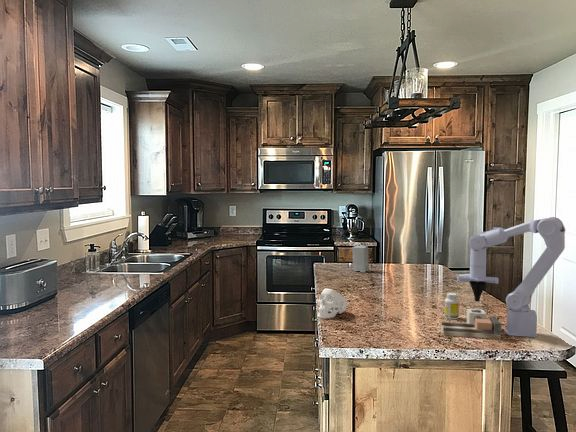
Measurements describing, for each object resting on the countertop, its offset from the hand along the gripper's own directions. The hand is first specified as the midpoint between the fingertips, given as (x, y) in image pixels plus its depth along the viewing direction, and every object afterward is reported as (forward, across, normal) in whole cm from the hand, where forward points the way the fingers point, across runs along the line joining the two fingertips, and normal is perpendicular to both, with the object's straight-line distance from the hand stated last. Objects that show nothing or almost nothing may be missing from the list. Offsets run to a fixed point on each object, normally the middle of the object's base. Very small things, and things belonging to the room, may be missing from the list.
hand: (477, 301), depth 180 cm
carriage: (+8, 0, -11) cm, 14 cm away
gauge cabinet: (+9, 0, 0) cm, 9 cm away
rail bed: (+9, -4, -11) cm, 15 cm away
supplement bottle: (+10, -8, +9) cm, 15 cm away
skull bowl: (+10, -56, +3) cm, 57 cm away
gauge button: (+9, 0, 0) cm, 9 cm away
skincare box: (+10, -51, +105) cm, 117 cm away
